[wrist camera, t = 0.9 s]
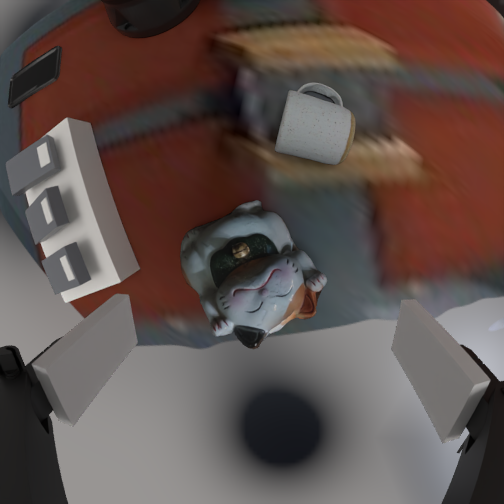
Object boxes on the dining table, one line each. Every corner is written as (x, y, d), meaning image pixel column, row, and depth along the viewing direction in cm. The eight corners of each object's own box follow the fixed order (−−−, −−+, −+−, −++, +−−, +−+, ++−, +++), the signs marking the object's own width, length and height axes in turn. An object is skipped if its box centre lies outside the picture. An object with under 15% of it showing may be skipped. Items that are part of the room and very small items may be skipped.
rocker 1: (19, 195, 30) (11, 195, 28) (12, 164, 29) (5, 162, 27) (61, 169, 31) (54, 167, 29) (53, 137, 30) (46, 134, 28)
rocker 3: (65, 289, 35) (54, 295, 33) (52, 256, 34) (40, 261, 32) (91, 279, 31) (79, 286, 29) (76, 241, 30) (63, 246, 28)
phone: (10, 77, 33) (60, 43, 32) (14, 78, 34) (63, 45, 33) (7, 109, 35) (56, 78, 33) (11, 110, 36) (60, 79, 34)
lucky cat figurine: (281, 188, 36) (342, 242, 25) (293, 262, 43) (341, 327, 32) (166, 228, 34) (177, 304, 23) (197, 298, 41) (219, 377, 30)
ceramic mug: (336, 169, 35) (351, 165, 27) (273, 154, 35) (273, 146, 28) (349, 95, 33) (366, 76, 25) (289, 80, 33) (292, 56, 25)
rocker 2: (46, 240, 33) (34, 244, 31) (35, 208, 32) (24, 211, 30) (69, 222, 30) (56, 227, 28) (58, 185, 29) (44, 188, 27)
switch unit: (40, 160, 38) (10, 160, 30) (90, 123, 36) (60, 115, 28) (84, 290, 42) (57, 307, 35) (140, 268, 40) (115, 285, 33)
